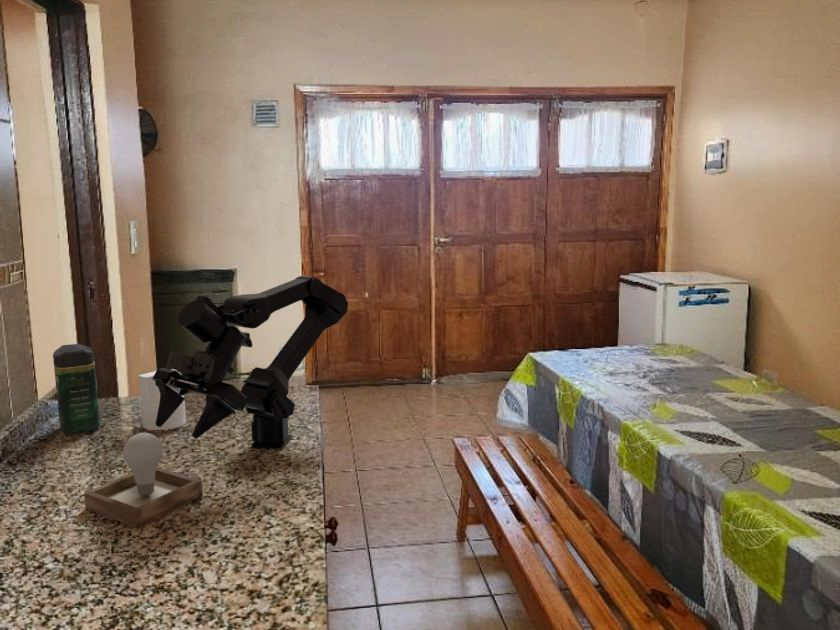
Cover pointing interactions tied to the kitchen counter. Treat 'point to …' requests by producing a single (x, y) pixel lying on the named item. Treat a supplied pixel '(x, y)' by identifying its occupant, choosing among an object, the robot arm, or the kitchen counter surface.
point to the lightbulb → (143, 460)
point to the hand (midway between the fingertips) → (175, 431)
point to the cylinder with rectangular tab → (157, 405)
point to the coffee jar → (76, 389)
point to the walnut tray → (138, 510)
